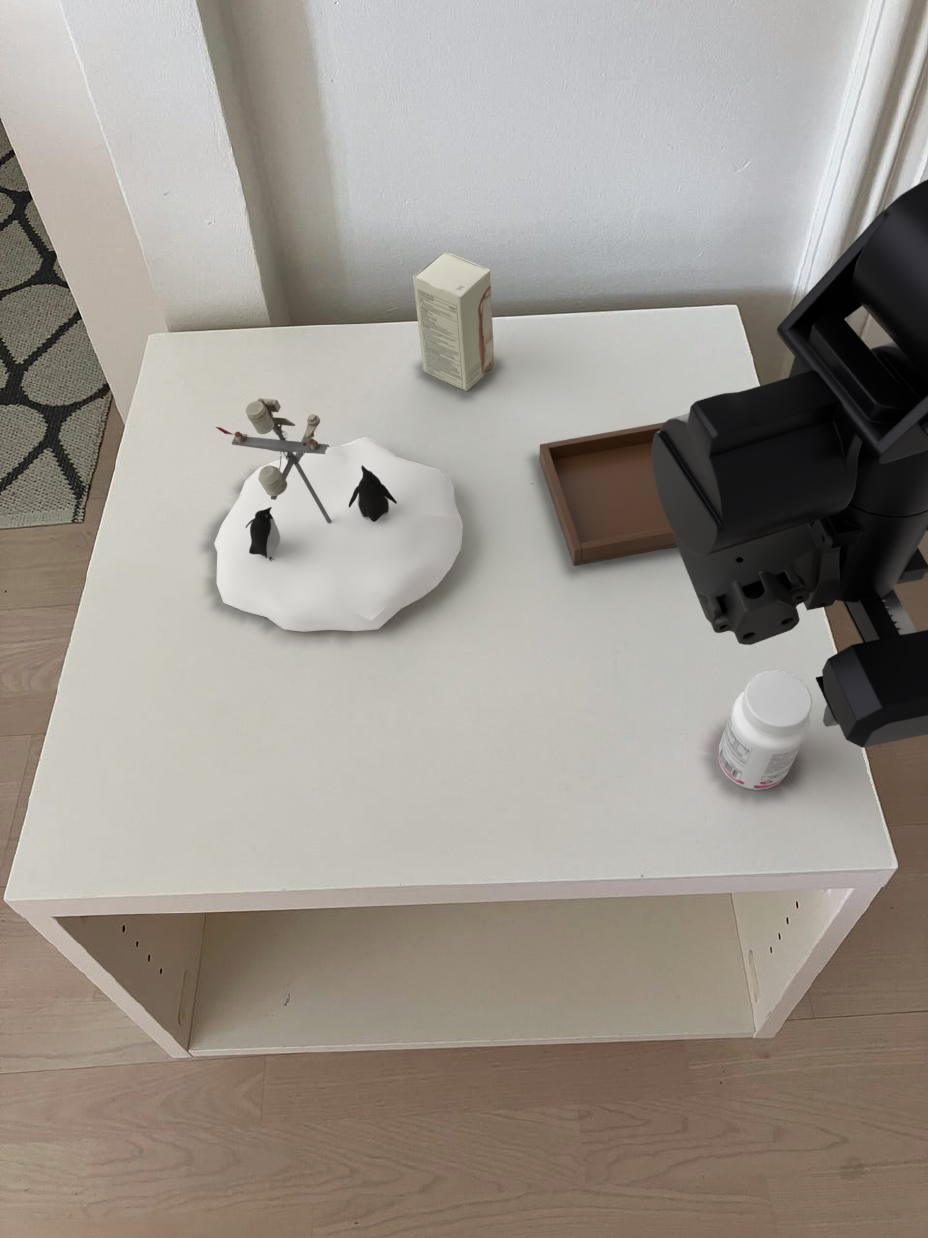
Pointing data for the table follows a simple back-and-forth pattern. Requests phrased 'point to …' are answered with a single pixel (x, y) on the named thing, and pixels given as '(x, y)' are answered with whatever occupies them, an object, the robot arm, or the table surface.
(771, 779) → the pill bottle
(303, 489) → the figurine
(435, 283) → the medicine box
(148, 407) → the table surface
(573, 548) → the tray
